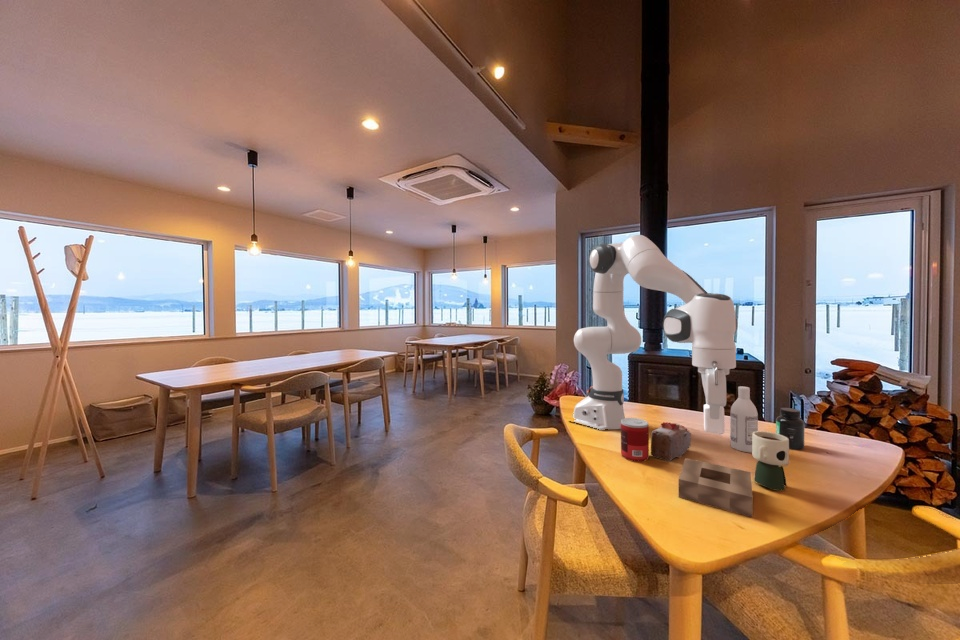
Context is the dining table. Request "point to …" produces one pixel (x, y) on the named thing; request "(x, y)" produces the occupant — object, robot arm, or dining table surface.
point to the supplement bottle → (791, 427)
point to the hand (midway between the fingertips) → (713, 415)
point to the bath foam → (743, 421)
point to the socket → (717, 486)
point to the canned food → (635, 439)
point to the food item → (670, 441)
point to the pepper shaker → (713, 421)
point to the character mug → (770, 458)
